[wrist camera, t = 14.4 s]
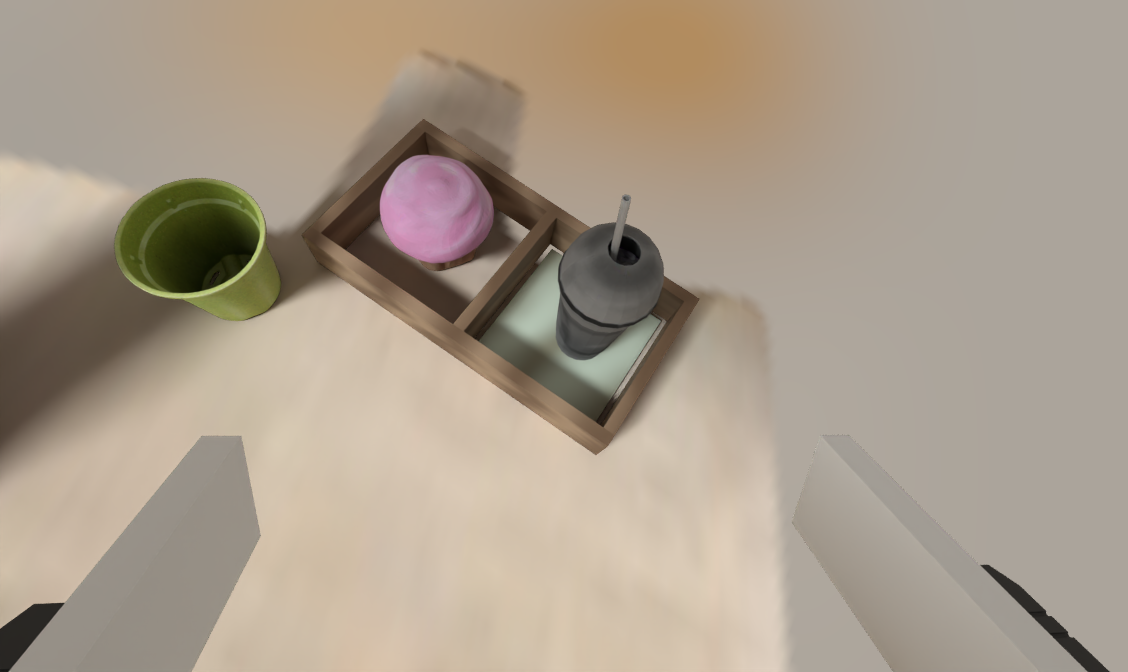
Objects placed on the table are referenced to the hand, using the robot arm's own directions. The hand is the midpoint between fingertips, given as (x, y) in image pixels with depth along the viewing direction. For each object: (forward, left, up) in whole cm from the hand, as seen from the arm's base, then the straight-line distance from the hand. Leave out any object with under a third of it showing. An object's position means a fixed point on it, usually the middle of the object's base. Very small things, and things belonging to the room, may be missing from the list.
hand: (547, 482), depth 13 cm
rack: (-11, +16, -32) cm, 37 cm away
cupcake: (-18, +16, -32) cm, 40 cm away
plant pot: (-29, +3, -32) cm, 43 cm away
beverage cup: (-3, +16, -32) cm, 36 cm away
